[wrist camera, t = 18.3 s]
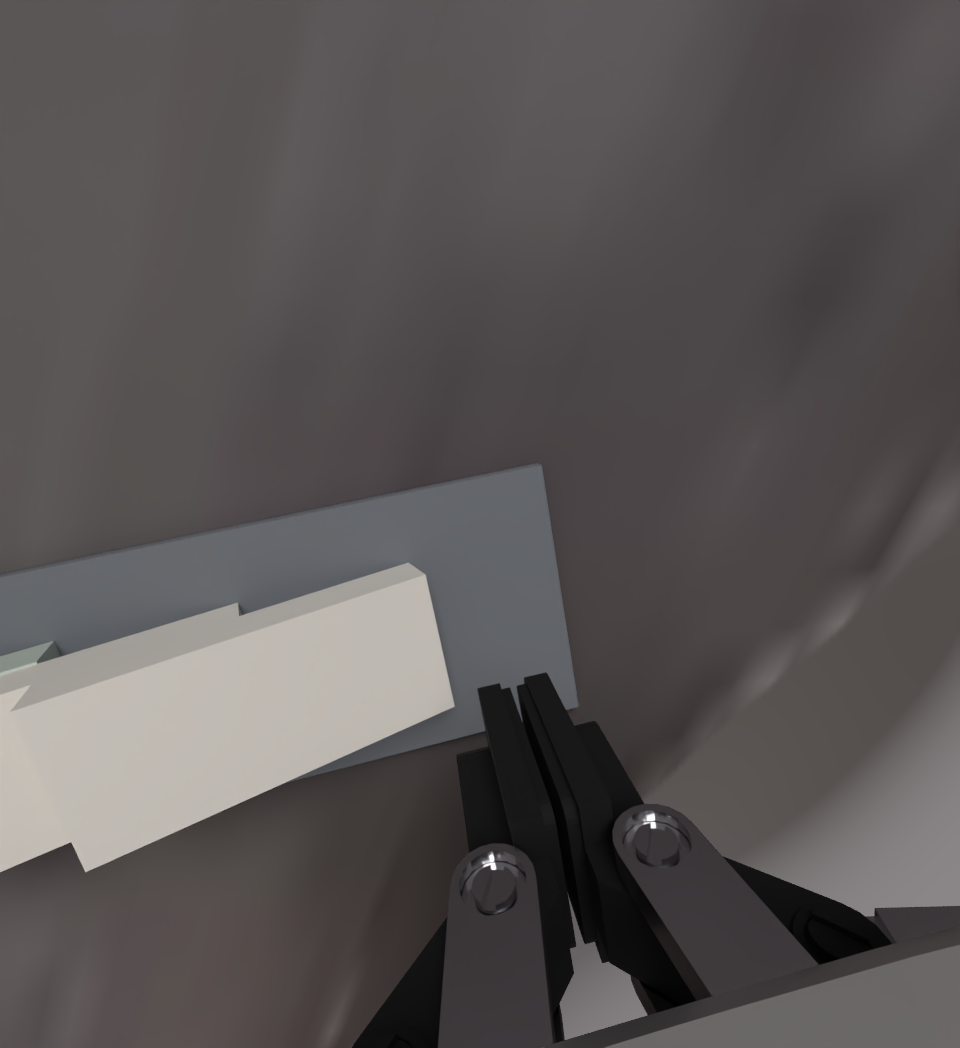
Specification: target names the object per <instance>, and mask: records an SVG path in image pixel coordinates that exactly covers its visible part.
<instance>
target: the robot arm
mask: <svg viewBox="0 0 960 1048" xmlns="http://www.w3.org/2000/svg"><path fill="white" fill-rule="evenodd" d="M477 690H478V696H479V701H480V706H481V711H482V716H483V721H484V726H485V731H486V736H487V741H488V746H489V747H485V748H481V749H477V750H473V751H469V752H465V753H460V754H457V764H458V772H459V779H460V786H461V794H462V801H463V808H464V816H465V823H466V831H467V838H468V845H469V853H468V854H467V855H466V856H465V857H464V858H463V859H462V860H461V861H460V862H459V864H458V865H457V867H456V869H455V871H454V872H453V875H452V879H451V883H450V890H449V903H448V917H447V918H446V920H445V921H444V922H443V924H442V925H441V926H440V928H439V929H438V930H437V932H436V933H435V935H434V936H433V937H432V939H431V940H430V941H429V943H428V944H427V945H426V947H425V948H424V950H423V951H422V952H421V954H420V955H419V956H418V958H417V959H416V960H415V962H414V963H413V964H412V966H411V967H410V969H409V970H408V971H407V973H406V974H405V975H404V977H403V978H402V979H401V981H400V982H399V984H398V985H397V986H396V988H395V989H394V990H393V992H392V993H391V994H390V996H389V997H388V998H387V1000H386V1001H385V1003H384V1004H383V1005H382V1007H381V1008H380V1009H379V1011H378V1012H377V1013H376V1015H375V1016H374V1018H373V1019H372V1020H371V1022H370V1023H369V1024H368V1026H367V1027H366V1028H365V1030H364V1031H363V1033H362V1034H361V1035H360V1037H359V1038H358V1039H357V1041H356V1042H355V1043H354V1045H353V1047H352V1048H960V906H946V907H945V906H943V907H905V908H875V916H873V917H865V916H863V915H862V914H861V913H860V912H858V911H856V910H854V909H852V908H850V907H848V906H846V905H844V904H842V903H840V902H837V901H835V900H832V899H830V898H827V897H824V896H822V895H819V894H817V893H814V892H812V891H809V890H806V889H804V888H801V887H799V886H797V885H794V884H792V883H789V882H786V881H784V880H781V879H779V878H776V877H774V876H771V875H769V874H766V873H764V872H761V871H759V870H756V869H754V868H751V867H748V866H746V865H743V864H741V863H738V862H736V861H733V860H731V859H728V858H725V857H723V856H722V855H721V854H720V853H719V852H718V851H717V850H716V849H715V848H714V847H713V845H712V844H711V843H710V842H709V841H708V840H707V839H706V837H704V835H703V834H702V833H701V832H700V831H699V830H698V828H697V827H696V826H695V825H694V824H693V823H692V822H691V821H690V820H689V819H688V818H686V817H685V816H684V815H683V814H682V813H680V812H678V811H676V810H674V809H672V808H670V807H666V806H662V805H658V804H644V803H643V801H642V799H641V797H640V796H639V794H638V792H637V791H636V789H635V787H634V785H633V784H632V782H631V780H630V779H629V777H628V775H627V773H626V772H625V770H624V768H623V767H622V765H621V763H620V761H619V760H618V758H617V756H616V755H615V753H614V751H613V749H612V748H611V746H610V744H609V743H608V741H607V739H606V737H605V736H604V734H603V732H602V731H601V729H600V727H599V726H598V724H597V723H596V722H595V721H592V722H588V723H584V724H580V725H576V726H574V725H573V723H572V721H571V719H570V717H569V715H568V713H567V711H566V709H565V707H564V705H563V703H562V701H561V699H560V697H559V695H558V693H557V691H556V689H555V687H554V686H553V684H552V682H551V680H550V678H549V676H548V674H547V673H546V672H545V673H541V674H536V675H532V676H528V677H524V684H522V685H517V693H518V699H519V705H520V710H521V716H522V720H521V717H520V714H519V712H518V709H517V706H516V703H515V700H514V697H513V695H512V692H511V689H510V687H509V688H504V689H501V686H500V683H498V684H493V685H489V686H485V687H481V688H477ZM522 722H523V723H522ZM567 892H568V893H567ZM568 895H569V898H570V901H571V904H572V907H573V910H574V913H575V917H576V919H577V923H578V926H579V929H580V932H581V935H582V938H583V941H584V943H585V944H587V943H591V942H595V943H596V946H597V949H598V952H599V955H600V958H601V961H602V963H605V962H608V961H609V962H610V963H611V964H613V965H615V966H616V967H618V968H619V969H621V970H623V971H625V972H626V973H628V974H630V975H631V981H632V983H633V986H634V989H635V991H636V994H637V996H638V998H639V1000H640V1001H641V1003H642V1005H643V1007H644V1009H645V1011H646V1012H647V1015H648V1016H645V1017H641V1018H638V1019H635V1020H631V1021H628V1022H625V1023H621V1024H618V1025H615V1026H611V1027H608V1028H605V1029H601V1030H598V1031H595V1032H591V1033H588V1034H585V1035H581V1036H578V1037H575V1038H571V1039H568V1040H564V1030H563V1022H562V1014H561V1009H560V1004H559V1003H560V1001H561V999H562V997H563V995H564V993H565V990H566V988H567V986H568V984H569V982H570V980H571V978H572V976H573V974H574V971H573V965H572V959H571V953H570V948H573V947H576V942H575V936H574V930H573V923H572V917H571V911H570V905H569V899H568Z"/></svg>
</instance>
